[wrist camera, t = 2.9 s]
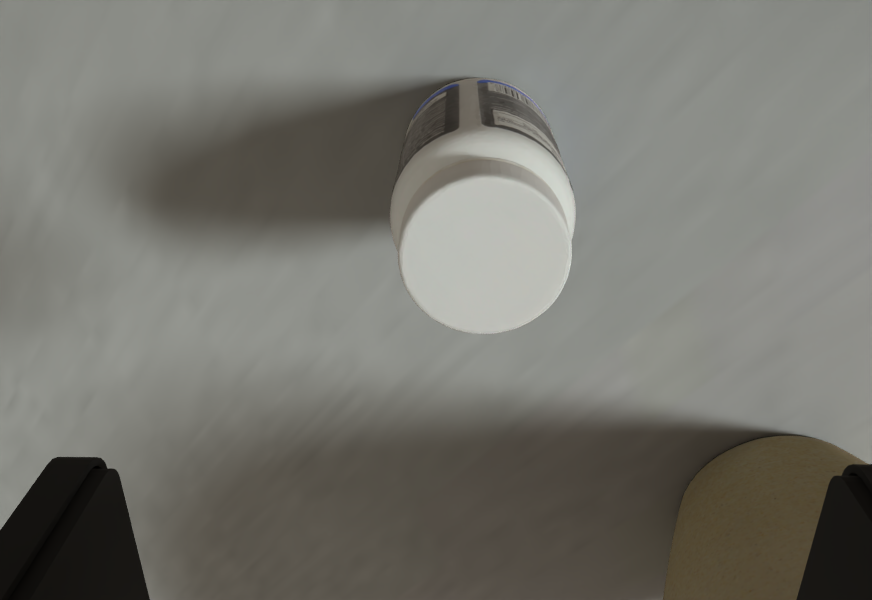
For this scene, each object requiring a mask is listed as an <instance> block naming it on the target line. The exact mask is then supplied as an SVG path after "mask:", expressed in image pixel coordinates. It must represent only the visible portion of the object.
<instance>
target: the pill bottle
mask: <svg viewBox="0 0 872 600" xmlns="http://www.w3.org/2000/svg"><path fill="white" fill-rule="evenodd" d="M575 216H576V212H575V200H574V193H573V189H572V186H571V183H570V180H569V178H568V175H567V173H566V170H565V167H564V164H563V161H562V159H561V156H560V153H559V149H558V147H557V144H556V142H555V139H554V136H553V134H552V131H551V128H550V125H549V123H548V121H547V119H546V117H545V115H544V114H543V112H542V110H541V109H540V108H539V106H538V105H537V104H536V103H535V102H534V101H533V100H532V99H531V98H530V97H529V96H528V95H527V94H526V93H524V92H523V91H522V90H520V89H519V88H517V87H515V86H513V85H511V84H509V83H506V82H503V81H500V80H495V79H488V78H471V79H464V80H460V81H457V82H453V83H450V84H448V85H446V86H444V87H442V88H440V89H439V90H437V91H436V92H434V93H433V94H432V95H431V96H430V97H429V98H428V99H426V100H425V101H424V102H423V104H422V105H421V106H420V107H419V109H418V110H417V112H416V113H415V115H414V117H413V118H412V120H411V122H410V125H409V127H408V130H407V133H406V137H405V141H404V145H403V149H402V152H401V157H400V163H399V167H398V172H397V176H396V181H395V185H394V188H393V193H392V197H391V205H390V224H391V232H392V236H393V240H394V243H395V246H396V249H397V251H398V264H399V269H400V274H401V277H402V280H403V283H404V285H405V287H406V289H407V291H408V293H409V295H410V296H411V298H412V299H413V300H414V302H415V303H416V304H417V305H418V306H419V307H420V309H421V310H422V311H424V312H425V313H426V314H427V315H428V316H430V317H431V318H432V319H434V320H435V321H437V322H439V323H441V324H443V325H445V326H447V327H449V328H452V329H455V330H458V331H462V332H468V333H476V334H495V333H500V332H505V331H509V330H512V329H515V328H518V327H520V326H522V325H524V324H527V323H529V322H530V321H532V320H533V319H535V318H537V317H538V316H539V315H541V314H542V313H543V312H544V311H546V310H547V309H548V308H549V307H550V306H551V305H552V304H553V302H554V301H555V300H556V299H557V297H558V296H559V294H560V293H561V291H562V289H563V287H564V285H565V282H566V280H567V278H568V275H569V270H570V266H571V260H572V245H571V240H572V237H573V233H574V227H575Z"/></svg>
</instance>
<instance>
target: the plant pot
mask: <svg viewBox="0 0 872 600" xmlns="http://www.w3.org/2000/svg"><path fill="white" fill-rule="evenodd" d="M852 464H867V463H865V462H864V461H862V460H860V459H859V458H857V457H855V456H853V455H852V454H850V453H848V452H846V451H844V450H842V449H840V448H839V447H837V446H835V445H833V444H831V443H828V442H825V441H822V440H819V439H815V438H810V437H803V436H774V437H766V438H760V439H756V440H753V441H750V442H747V443H744V444H741V445H738V446H736V447H734V448H732V449H730V450H728V451H726V452H724V453H722V454H721V455H719V456H718V457H716V458H715V459H713V460H712V461H711V462H709V463H708V464H707V465H706V466H705V467H703V468H702V469H701V470H700V471H699V472H698V473H697V474H696V476H695V477H694V478H693V480H692V481H691V483H690V484H689V485H688V487H687V489H686V491H685V493H684V496H683V498H682V501H681V505H680V509H679V513H678V517H677V521H676V526H675V531H674V535H673V541H672V546H671V551H670V557H669V563H668V569H667V575H666V582H665V589H664V597H663V600H796V599H797V596H798V592H799V589H800V585H801V581H802V578H803V574H804V571H805V567H806V564H807V560H808V556H809V553H810V549H811V546H812V542H813V539H814V535H815V531H816V528H817V524H818V521H819V517H820V514H821V510H822V506H823V503H824V499H825V496H826V492H827V489H828V485H829V482H830V480H831V479H832V478H833V476H842V473H843V471H844V469H845V468H846V467H847V466H848V465H852Z"/></svg>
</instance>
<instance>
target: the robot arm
mask: <svg viewBox="0 0 872 600" xmlns="http://www.w3.org/2000/svg"><path fill="white" fill-rule="evenodd" d="M0 600H150V599H149V595H148V591H147V587H146V583H145V578H144V574H143V570H142V566H141V562H140V558H139V554H138V550H137V546H136V542H135V538H134V534H133V530H132V525H131V521H130V517H129V513H128V509H127V505H126V501H125V497H124V493H123V489H122V485H121V481H120V477H119V474H118V472H117V471H116V470H115V469H107V466H106V464H105V462H104V461H103V460H102V459H101V458H98V457H57V458H54V459H52V460H51V461H50V462H49V463H48V464H47V466H46V467H45V469H44V470H43V471H42V473H41V474H40V476H39V477H38V478H37V480H36V481H35V483H34V484H33V485H32V487H31V488H30V490H29V491H28V492H27V494H26V495H25V497H24V498H23V499H22V501H21V502H20V504H19V505H18V506H17V508H16V509H15V511H14V512H13V513H12V515H11V516H10V518H9V519H8V520H7V522H6V523H5V525H4V526H3V527H2V529H1V530H0ZM796 600H872V464H852V465H848V466H847V467H846V468H845V469H844V471H843V473H842V476H833V478H832V479H831V480H830V482H829V485H828V489H827V492H826V496H825V499H824V503H823V506H822V510H821V514H820V517H819V521H818V524H817V528H816V531H815V535H814V539H813V542H812V546H811V549H810V553H809V556H808V560H807V564H806V567H805V571H804V574H803V578H802V581H801V585H800V589H799V592H798V596H797V599H796Z"/></svg>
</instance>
